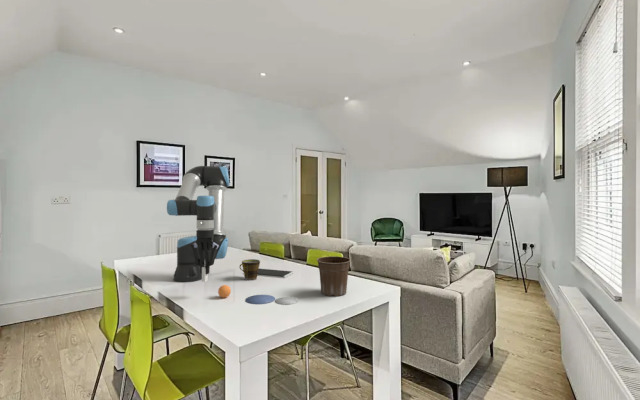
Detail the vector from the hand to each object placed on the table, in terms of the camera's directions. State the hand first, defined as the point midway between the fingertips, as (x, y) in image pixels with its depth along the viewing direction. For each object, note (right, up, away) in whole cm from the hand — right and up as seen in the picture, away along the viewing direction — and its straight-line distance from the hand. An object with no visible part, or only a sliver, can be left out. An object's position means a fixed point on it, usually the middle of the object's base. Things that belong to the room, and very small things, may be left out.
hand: (204, 280), depth 151 cm
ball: (+9, -5, -1) cm, 10 cm away
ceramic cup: (+13, -7, +32) cm, 35 cm away
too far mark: (+38, -8, -5) cm, 39 cm away
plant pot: (+59, -8, +8) cm, 60 cm away
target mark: (+26, -7, -3) cm, 27 cm away
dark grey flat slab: (+22, -8, +46) cm, 51 cm away
